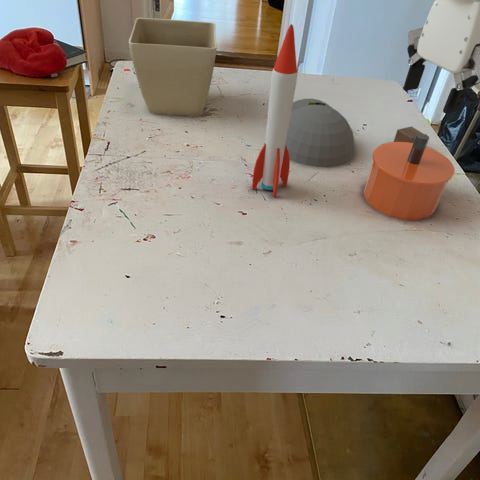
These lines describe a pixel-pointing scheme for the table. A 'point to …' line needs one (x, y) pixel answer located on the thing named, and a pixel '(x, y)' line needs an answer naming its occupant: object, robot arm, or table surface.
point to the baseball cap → (318, 135)
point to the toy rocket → (278, 120)
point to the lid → (413, 162)
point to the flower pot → (173, 64)
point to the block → (406, 135)
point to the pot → (401, 196)
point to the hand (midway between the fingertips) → (429, 100)
